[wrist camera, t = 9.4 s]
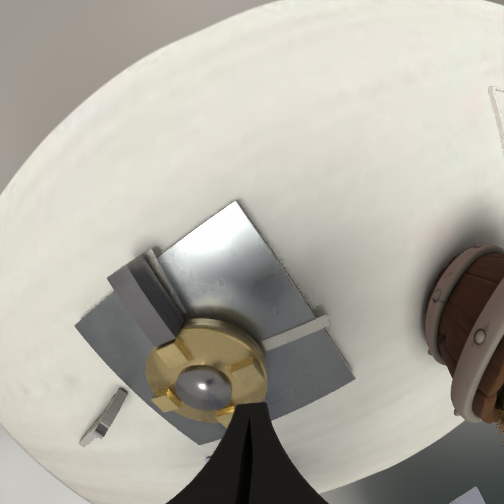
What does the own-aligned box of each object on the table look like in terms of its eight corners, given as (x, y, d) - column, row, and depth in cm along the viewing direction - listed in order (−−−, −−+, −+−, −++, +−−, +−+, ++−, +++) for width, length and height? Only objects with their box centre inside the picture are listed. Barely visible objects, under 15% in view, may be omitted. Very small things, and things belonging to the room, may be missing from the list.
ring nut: (285, 383, 20) (289, 409, 17) (196, 414, 21) (190, 438, 18) (184, 227, 17) (170, 237, 14) (93, 286, 18) (72, 302, 15)
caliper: (121, 384, 23) (97, 426, 17) (129, 390, 23) (107, 433, 17) (80, 439, 27) (65, 466, 21) (86, 443, 27) (71, 471, 21)
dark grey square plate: (359, 366, 22) (364, 374, 20) (200, 437, 25) (199, 445, 23) (238, 180, 18) (237, 180, 17) (74, 311, 21) (67, 317, 19)
